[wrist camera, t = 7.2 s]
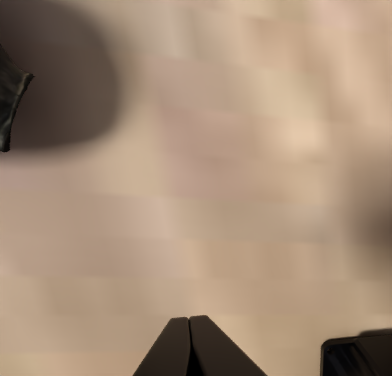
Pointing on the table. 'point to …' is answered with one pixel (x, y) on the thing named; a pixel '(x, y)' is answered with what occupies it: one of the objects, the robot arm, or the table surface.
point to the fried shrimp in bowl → (10, 95)
